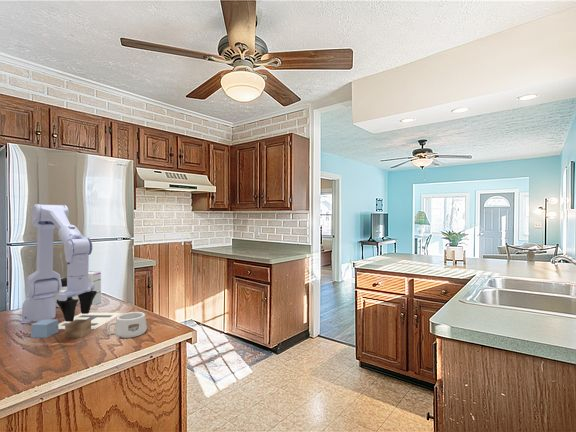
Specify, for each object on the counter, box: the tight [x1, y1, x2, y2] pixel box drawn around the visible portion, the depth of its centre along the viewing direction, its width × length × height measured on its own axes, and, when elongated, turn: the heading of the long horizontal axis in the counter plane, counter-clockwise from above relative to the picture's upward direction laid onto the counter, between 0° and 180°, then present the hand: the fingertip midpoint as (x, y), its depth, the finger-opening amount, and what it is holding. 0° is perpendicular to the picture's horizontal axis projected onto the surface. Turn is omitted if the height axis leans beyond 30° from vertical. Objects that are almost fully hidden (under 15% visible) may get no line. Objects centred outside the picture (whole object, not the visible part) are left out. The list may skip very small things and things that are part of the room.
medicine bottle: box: [56, 276, 80, 309], centre depth 136 cm, size 7×7×12 cm
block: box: [64, 319, 92, 339], centre depth 100 cm, size 5×5×5 cm
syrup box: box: [88, 270, 102, 306], centre depth 138 cm, size 6×6×14 cm
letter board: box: [58, 312, 123, 330], centre depth 114 cm, size 16×18×1 cm
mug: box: [106, 311, 148, 339], centre depth 103 cm, size 12×10×6 cm
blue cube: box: [30, 318, 60, 339], centre depth 100 cm, size 5×5×5 cm
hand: (77, 317), depth 100 cm, fingers open, 7 cm apart
